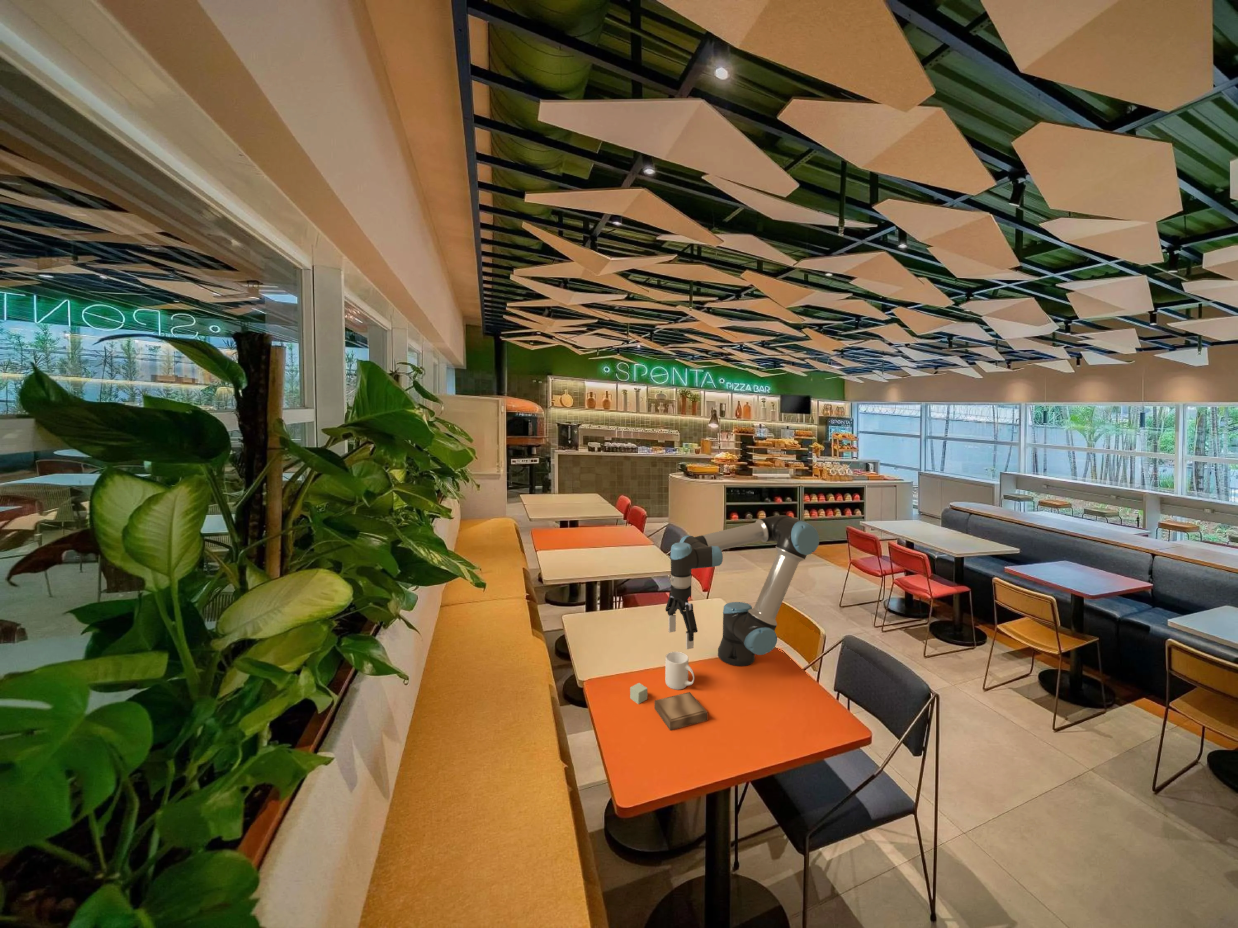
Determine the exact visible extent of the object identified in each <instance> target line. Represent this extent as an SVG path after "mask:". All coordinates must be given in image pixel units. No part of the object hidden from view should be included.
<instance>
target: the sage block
mask: <svg viewBox="0 0 1238 928" xmlns="http://www.w3.org/2000/svg"><path fill="white" fill-rule="evenodd" d="M629 694H630V695H629V698H630V700H632V701H633V702H634V703H636V704H637V705H640V704H642V703H643V702H646V701H647V700H648V687H647V686H644V685H643V684H642V683H640V682H638V683H635V684H634V685H632V686H630V687H629Z"/></svg>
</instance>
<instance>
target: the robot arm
mask: <svg viewBox="0 0 1238 928" xmlns="http://www.w3.org/2000/svg"><path fill="white" fill-rule="evenodd" d="M756 542H762V543H767V542H775V543H776V544H775V545H776V546H775V548H776V551H777V553H776V555H775V558H774V560H773V562H772V564H771V567H770V569H769V571H768V575H767V576H766V578H765V581H764V584H763V586H762V589H761V590H760V593H759V595H758V598H757V600H756V602H755V604H754V607H753V606H752V605H751V604H750V603H746V602H743V601H742V602H740V601H732V602H731V601H730V602H726V604H724V606H723V611H722V637H721V640H720V642H719V643H720V644H719V646H718V649H717V656H718V659H719V660H721V661H722V662H724V663H726V664H728V665H730V666H737V667H746V666H750V665H752V664H753V663H754V662H755V660H756V659H755V657H756V656H757V655H758V656H762V655H766V654H767V653H770V652H771V651H773V650H774V648H775V647H776V646H777V643H778V637H777V633H776V631H775V630H776V628H777V626H778V622H777V620H776V618H777V616H778V613H779V611H780V608H781V605H782V604H783V601H784V599H785V596H786V594H787V591H788V589H789V587H790V585H791V582H792V580H793V577H794V575H795V573H796V571H797V569H798V566H799V563H800V562H802V561H805V560H806V558H807V556H809V555H811V554H813V553H815V551H817V549H818V547H819V544H820V534H819V533H818V530H817V529H816V527H815V526H813V525H812V524H810V523H808V522H806V521H804V520H801V519H797V518H795V517H792V516H789V515H784V514H783V515H782V514H781V515H774V516H768V517H764V518H763V517H762V518H758V519H756V521H755V522H753V523H750V524H745V525H740V526H736V527H732V528H728V529H727V528H726V529H724V530H718V531H715V532H710V533H707V534H701V535H698V536H693V535H689V534H687V535H684V536H683V537H681V538H680V540H679V542H675V543H673V544H672V545H671V547H670V556H669V557H670V578H669V580H670V592H668V593H669V594H668V600H667V601H666V606H665V612H667V616H668V633H675V632H676V631H677V627H676V626H677V625H676V624H677V623H676V622H677V621H676V619H677V618H676V617H677V615H676V613H677V610H678V611H679V613H680V615H682V618H683V619H682V620H683V621H684V624H685V628H686V631H685V649H686V650H690V649H694V640H695V638H694V637H695V634H696V633H698V628H697V627H698V626H697V623H696V622H697V621H696V617H695V612H694V604H693V603H689V598H690V597H691V596H692V570H695V569H705V568H707V569H708V568H715V567H720V566H721V565H722V564H723V561H724V559H723V558H724V557H723V556H724V555H723V550H727V549H731V548H736V547H740V546H744V545H747V544H752V543H756Z"/></svg>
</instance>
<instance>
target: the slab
mask: <svg viewBox="0 0 1238 928" xmlns="http://www.w3.org/2000/svg"><path fill="white" fill-rule="evenodd" d="M654 710H655V712H656V713H657V714H658V716H659V717H660V718H661V720H662V721H663V723H664V724H665V725H666V727H667V728H668V730H669V731H672V730H677V729H681V728H684V727H687V726H693V725H695V724H699V723H703V722H707V721H708V711H707V710H706V708H705V707H704V706H703V705H702V704H701V703H700V702H699V701H698V700H697V699H696V697H695V696H694V695H693V693H691V692H690V691H689V692H684V693H681V694H676V695H672V696H668V697H664V698H660V699H656V700H655V699H654Z"/></svg>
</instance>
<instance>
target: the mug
mask: <svg viewBox="0 0 1238 928" xmlns="http://www.w3.org/2000/svg"><path fill="white" fill-rule="evenodd" d="M664 668H665V669H664V672H665V673H664V677H665V678H664V679H665V680H664V681H665V685H666V686H667V687H668V688H670V689H672V690H674V691H675V690H678V691H679V690H680V691H681V690H683V689H685V688H686V687H687V686H688V687H689V686H692V685H693V684H694V682H695V673H694V670H693V669H692V667H691V666H690V665H689V656H688V655H687V654H686V653H684V652H681V651H670V652H668V653H667V654H666V655H665V666H664ZM689 672H690V673H691V676H692V680H691V681H690V680H689Z"/></svg>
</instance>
